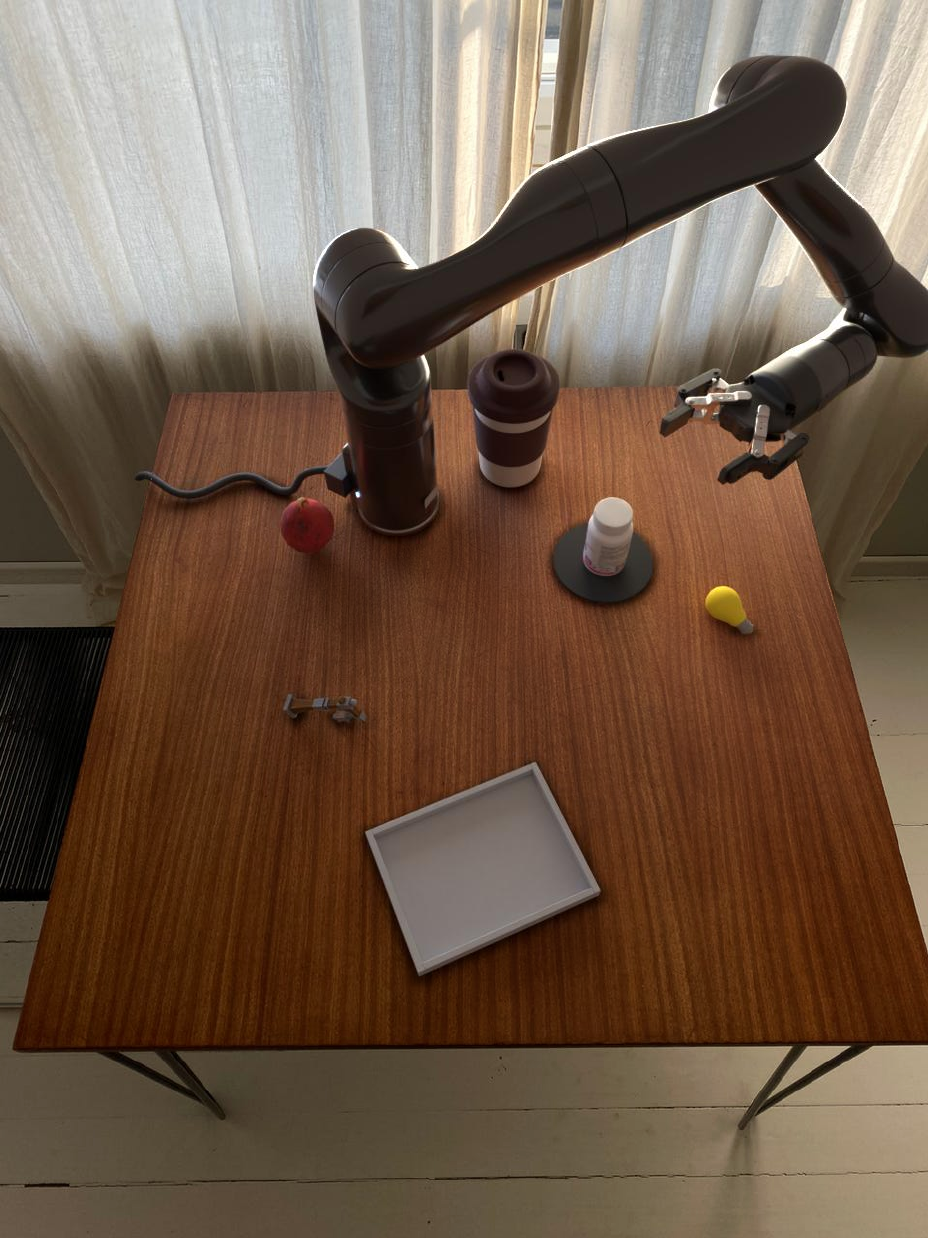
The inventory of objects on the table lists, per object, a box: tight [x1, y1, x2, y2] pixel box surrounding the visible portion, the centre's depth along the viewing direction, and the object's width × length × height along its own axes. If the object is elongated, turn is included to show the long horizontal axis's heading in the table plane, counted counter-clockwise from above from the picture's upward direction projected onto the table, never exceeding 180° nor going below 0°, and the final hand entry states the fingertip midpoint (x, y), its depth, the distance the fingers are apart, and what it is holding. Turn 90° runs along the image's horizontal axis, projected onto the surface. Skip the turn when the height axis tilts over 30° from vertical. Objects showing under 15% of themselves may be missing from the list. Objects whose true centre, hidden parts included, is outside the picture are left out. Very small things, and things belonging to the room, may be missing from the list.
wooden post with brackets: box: [282, 693, 369, 724], centre depth 86 cm, size 2×8×4 cm, turn 79°
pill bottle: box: [583, 497, 634, 576], centre depth 93 cm, size 5×5×8 cm
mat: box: [552, 522, 654, 605], centre depth 97 cm, size 11×11×1 cm
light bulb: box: [705, 585, 754, 635], centre depth 92 cm, size 3×6×4 cm
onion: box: [280, 496, 335, 555], centre depth 95 cm, size 6×6×8 cm
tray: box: [364, 761, 602, 977], centre depth 78 cm, size 17×13×2 cm
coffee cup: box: [467, 348, 561, 488], centre depth 98 cm, size 10×10×15 cm
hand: (691, 453), depth 91 cm, fingers open, 8 cm apart
